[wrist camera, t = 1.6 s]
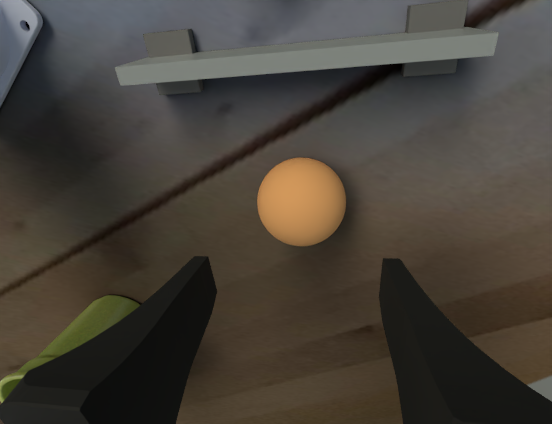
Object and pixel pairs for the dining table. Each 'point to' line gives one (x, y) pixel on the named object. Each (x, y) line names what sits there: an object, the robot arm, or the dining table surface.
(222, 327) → the dining table surface
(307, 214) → the ball
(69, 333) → the plant pot
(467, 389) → the robot arm
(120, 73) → the wall
